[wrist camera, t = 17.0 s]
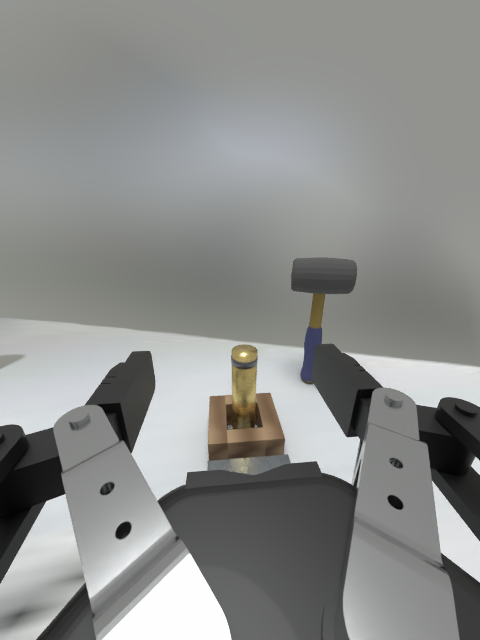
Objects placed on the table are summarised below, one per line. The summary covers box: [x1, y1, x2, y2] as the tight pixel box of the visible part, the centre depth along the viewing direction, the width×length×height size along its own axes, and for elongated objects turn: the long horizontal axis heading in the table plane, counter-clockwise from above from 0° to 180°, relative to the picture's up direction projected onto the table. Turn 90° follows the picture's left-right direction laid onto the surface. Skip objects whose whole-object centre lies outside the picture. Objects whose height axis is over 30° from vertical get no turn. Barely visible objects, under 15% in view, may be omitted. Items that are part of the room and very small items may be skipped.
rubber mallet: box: [291, 258, 357, 383], centre depth 54 cm, size 12×8×30 cm, turn 79°
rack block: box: [208, 393, 285, 461], centre depth 43 cm, size 12×11×5 cm
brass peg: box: [231, 345, 257, 430], centre depth 41 cm, size 4×4×18 cm
